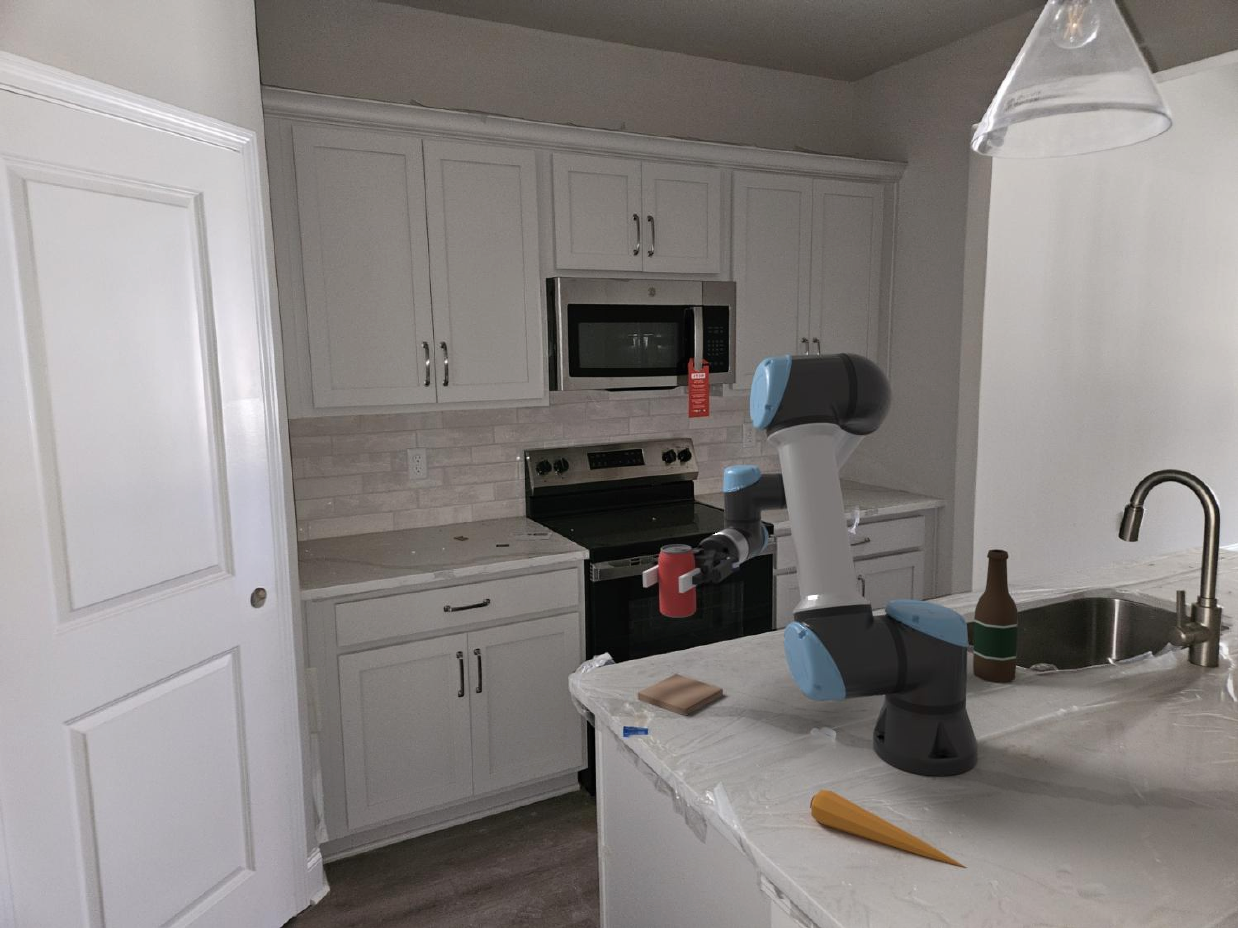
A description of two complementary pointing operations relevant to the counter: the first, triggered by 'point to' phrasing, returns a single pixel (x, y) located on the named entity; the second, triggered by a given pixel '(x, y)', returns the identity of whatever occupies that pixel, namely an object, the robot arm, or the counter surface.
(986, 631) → the beer bottle
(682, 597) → the beer can
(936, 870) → the counter surface
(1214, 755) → the counter surface
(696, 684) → the walnut board
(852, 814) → the carrot
